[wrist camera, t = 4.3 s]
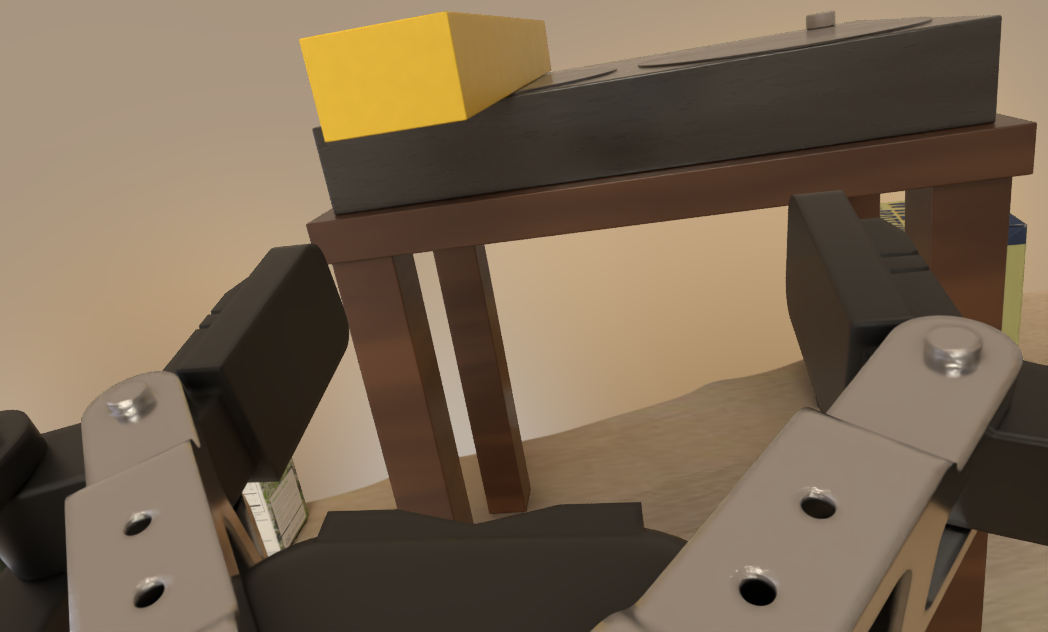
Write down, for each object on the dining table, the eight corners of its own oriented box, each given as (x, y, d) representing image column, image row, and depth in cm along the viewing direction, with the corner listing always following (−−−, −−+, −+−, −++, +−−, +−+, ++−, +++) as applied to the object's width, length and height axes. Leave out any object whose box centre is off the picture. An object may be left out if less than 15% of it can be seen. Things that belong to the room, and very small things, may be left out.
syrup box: (247, 521, 62) (193, 369, 57) (313, 515, 61) (264, 360, 56) (216, 567, 57) (154, 403, 52) (287, 561, 56) (231, 394, 51)
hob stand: (994, 679, 37) (1048, -16, 26) (432, 688, 42) (275, 115, 31) (871, 463, 56) (871, 3, 44) (490, 488, 61) (404, 83, 50)
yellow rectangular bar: (467, 120, 21) (446, 10, 20) (324, 143, 22) (297, 38, 21) (551, 70, 46) (544, 20, 45) (483, 82, 47) (474, 33, 46)
